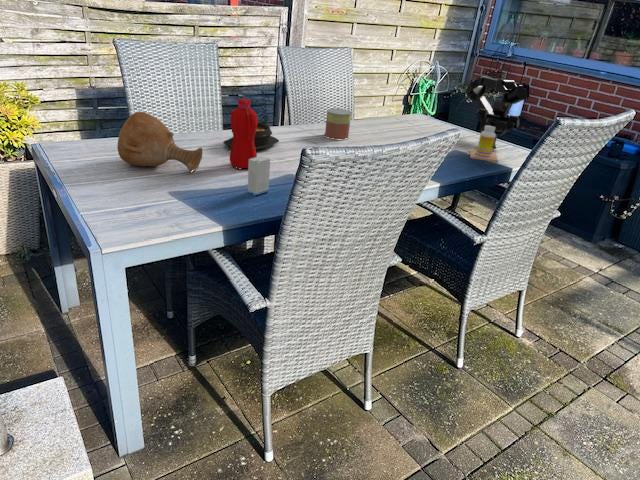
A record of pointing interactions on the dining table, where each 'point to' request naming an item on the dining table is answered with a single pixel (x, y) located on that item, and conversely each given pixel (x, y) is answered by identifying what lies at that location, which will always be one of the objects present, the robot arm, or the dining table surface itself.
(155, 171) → the dining table surface
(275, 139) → the black hat
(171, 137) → the jug
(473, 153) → the terracotta tile
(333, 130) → the canned food
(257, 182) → the skincare box
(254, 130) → the water bottle
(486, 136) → the supplement bottle
